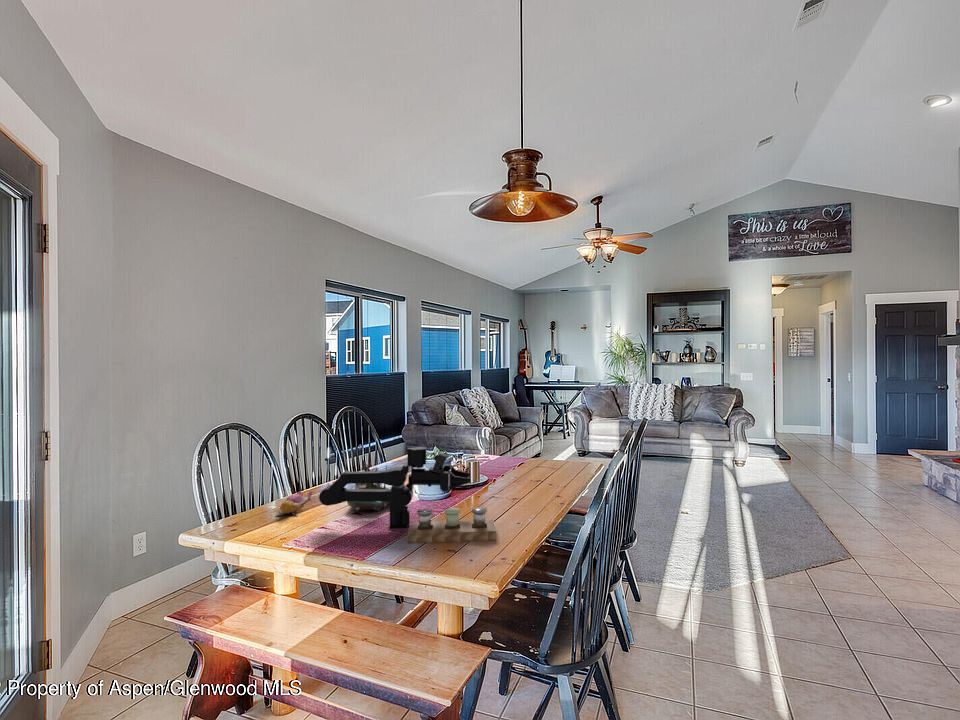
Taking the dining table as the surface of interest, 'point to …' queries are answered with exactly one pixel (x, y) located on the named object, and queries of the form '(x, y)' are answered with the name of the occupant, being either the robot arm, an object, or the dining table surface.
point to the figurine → (293, 503)
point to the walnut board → (452, 532)
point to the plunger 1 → (425, 517)
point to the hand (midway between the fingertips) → (470, 477)
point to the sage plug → (452, 516)
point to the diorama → (368, 505)
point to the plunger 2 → (479, 515)
